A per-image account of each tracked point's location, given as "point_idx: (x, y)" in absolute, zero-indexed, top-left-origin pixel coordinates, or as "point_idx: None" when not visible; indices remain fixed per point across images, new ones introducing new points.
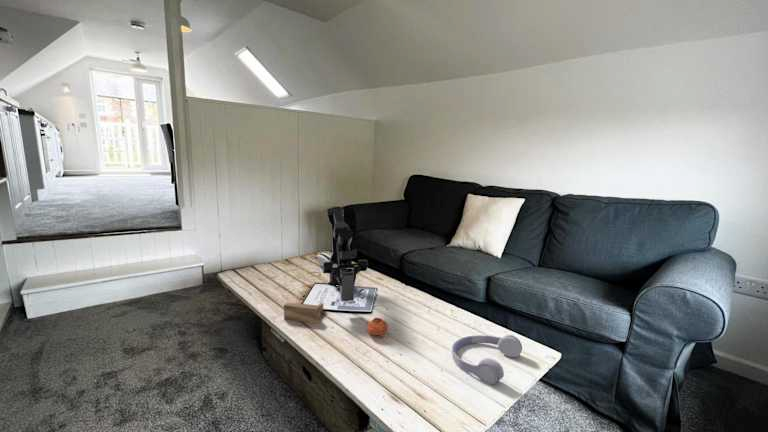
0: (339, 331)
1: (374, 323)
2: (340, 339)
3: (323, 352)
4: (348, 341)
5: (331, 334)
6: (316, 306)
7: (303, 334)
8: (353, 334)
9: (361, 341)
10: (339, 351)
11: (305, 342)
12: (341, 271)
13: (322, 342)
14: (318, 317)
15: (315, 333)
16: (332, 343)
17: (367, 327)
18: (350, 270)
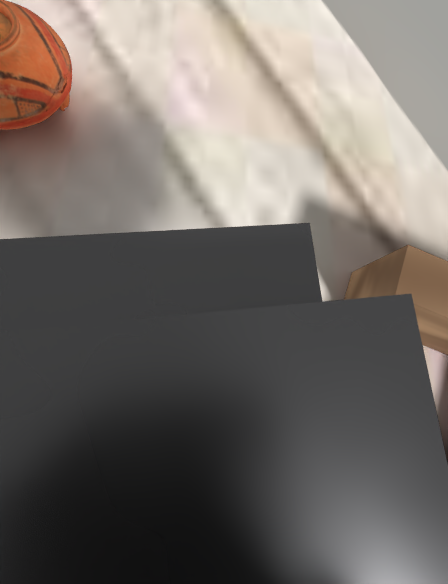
0: (228, 172)
1: (11, 13)
2: (225, 101)
3: (297, 25)
4: (187, 78)
5: (268, 151)
6: (416, 290)
7: (399, 175)
8: (156, 131)
9: (123, 65)
10: (231, 17)
11: (379, 109)
12: (431, 415)
13: (306, 94)
14: (358, 289)
15: (346, 174)
16: (262, 78)
17: (68, 66)
18: (1, 549)
